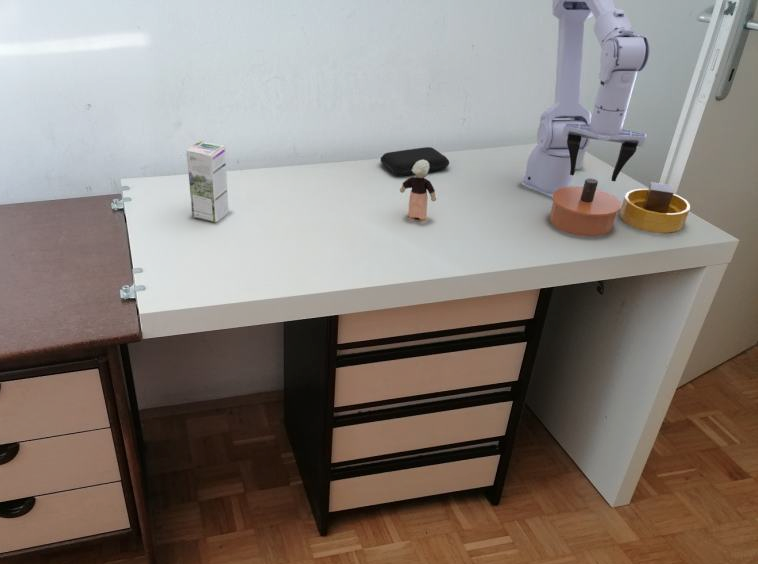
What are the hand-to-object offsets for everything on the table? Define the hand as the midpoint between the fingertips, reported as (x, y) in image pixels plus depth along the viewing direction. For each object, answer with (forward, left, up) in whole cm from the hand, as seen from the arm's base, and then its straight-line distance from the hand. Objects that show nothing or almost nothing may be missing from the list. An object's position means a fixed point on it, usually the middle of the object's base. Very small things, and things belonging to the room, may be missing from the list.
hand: (592, 176), depth 142 cm
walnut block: (+8, +13, -10) cm, 18 cm away
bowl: (+8, +13, -10) cm, 18 cm away
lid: (0, 0, -5) cm, 5 cm away
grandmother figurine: (-22, -25, -11) cm, 35 cm away
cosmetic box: (-20, +26, -11) cm, 34 cm away
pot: (0, 0, -10) cm, 10 cm away
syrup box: (-49, -57, -11) cm, 76 cm away
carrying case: (-42, -5, -11) cm, 44 cm away
